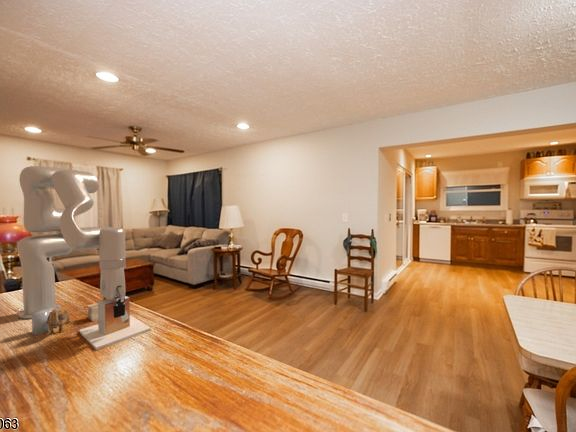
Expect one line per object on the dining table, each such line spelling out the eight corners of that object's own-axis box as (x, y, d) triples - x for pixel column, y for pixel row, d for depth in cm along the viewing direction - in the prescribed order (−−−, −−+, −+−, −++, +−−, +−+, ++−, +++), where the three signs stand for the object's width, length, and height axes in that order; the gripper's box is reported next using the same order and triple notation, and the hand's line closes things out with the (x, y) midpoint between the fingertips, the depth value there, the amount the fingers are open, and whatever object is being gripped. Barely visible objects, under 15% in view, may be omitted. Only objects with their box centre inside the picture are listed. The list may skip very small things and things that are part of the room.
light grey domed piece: (31, 332, 90) (30, 312, 90) (48, 327, 94) (47, 308, 93) (33, 336, 87) (32, 315, 87) (51, 331, 91) (50, 311, 91)
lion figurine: (67, 335, 88) (66, 309, 88) (46, 340, 85) (44, 313, 84) (71, 319, 100) (70, 296, 99) (52, 323, 97) (51, 299, 96)
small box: (104, 335, 86) (103, 304, 86) (98, 331, 89) (97, 300, 89) (130, 326, 93) (129, 297, 92) (123, 322, 96) (122, 294, 95)
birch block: (88, 318, 101) (87, 305, 101) (103, 313, 105) (102, 301, 105) (92, 321, 98) (91, 308, 98) (107, 317, 102) (107, 304, 102)
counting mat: (79, 332, 90) (79, 329, 90) (129, 316, 103) (129, 314, 103) (96, 350, 79) (96, 347, 79) (150, 330, 92) (150, 327, 92)
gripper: (91, 262, 92) (93, 309, 93) (109, 270, 82) (110, 323, 82) (115, 258, 98) (116, 303, 99) (135, 265, 87) (136, 315, 88)
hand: (114, 312), depth 91 cm, fingers open, 9 cm apart
